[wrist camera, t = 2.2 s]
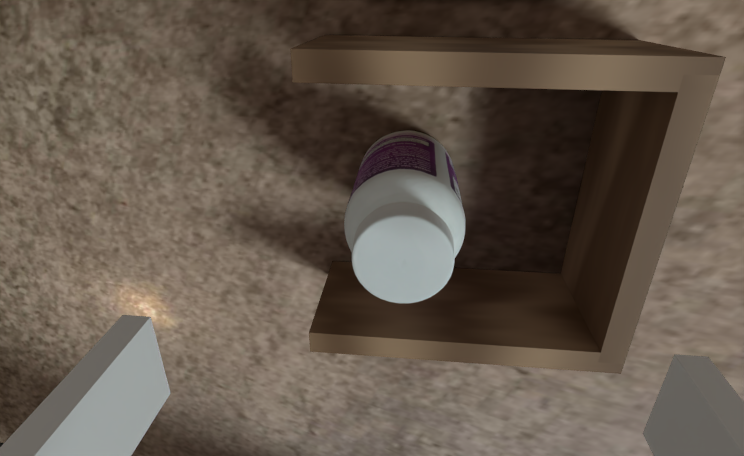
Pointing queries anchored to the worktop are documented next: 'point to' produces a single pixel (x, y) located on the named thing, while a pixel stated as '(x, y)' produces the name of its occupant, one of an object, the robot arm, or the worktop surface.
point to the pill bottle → (405, 218)
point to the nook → (591, 217)
